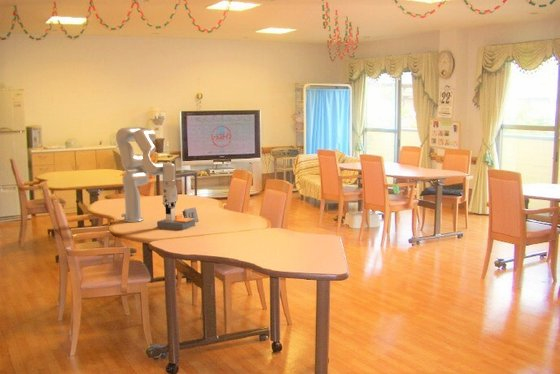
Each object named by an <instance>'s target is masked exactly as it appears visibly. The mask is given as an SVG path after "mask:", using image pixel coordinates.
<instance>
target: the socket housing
mask: <svg viewBox="0 0 560 374" xmlns="http://www.w3.org/2000/svg"><path fill="white" fill-rule="evenodd" d="M195 226H196V222H195V219H193V220H191V221H188V222H174V221H166V218H164V219H161V220H157V221H156V227H157V229H164V228H166V229H167V230H176V229H179V230H178V231H184V230H187V229H190V228H192V227H195Z"/></svg>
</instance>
